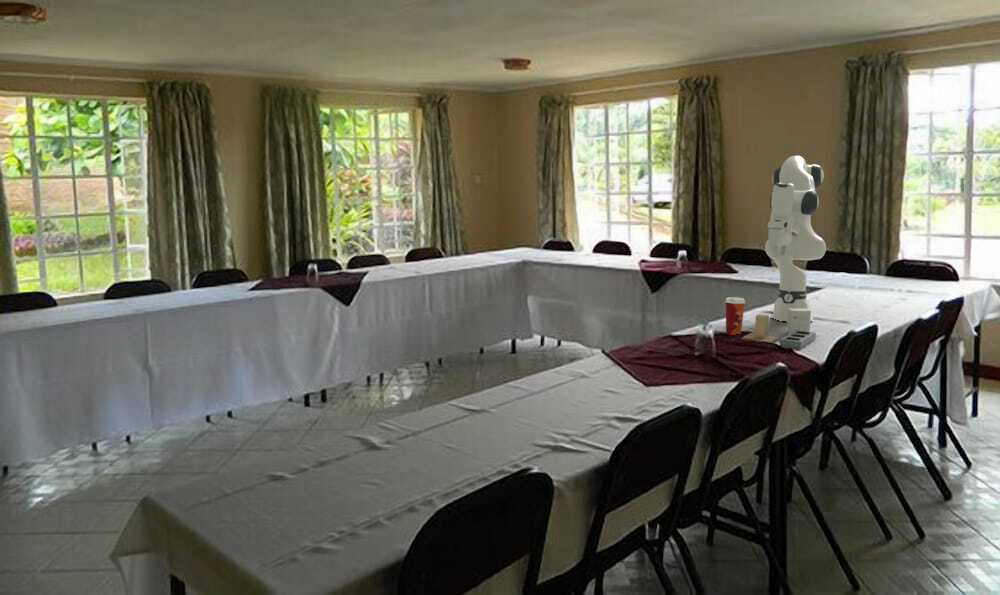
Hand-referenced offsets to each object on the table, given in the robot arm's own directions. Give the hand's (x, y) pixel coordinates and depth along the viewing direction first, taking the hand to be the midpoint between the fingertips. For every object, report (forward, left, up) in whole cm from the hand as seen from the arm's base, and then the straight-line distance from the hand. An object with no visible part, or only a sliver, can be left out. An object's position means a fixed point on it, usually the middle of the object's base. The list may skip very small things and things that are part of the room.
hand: (779, 256), depth 318 cm
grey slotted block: (+10, +12, -33) cm, 37 cm away
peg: (+12, -2, -32) cm, 34 cm away
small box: (-9, +7, -33) cm, 35 cm away
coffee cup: (+7, -15, -33) cm, 37 cm away
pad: (+12, -2, -33) cm, 35 cm away
